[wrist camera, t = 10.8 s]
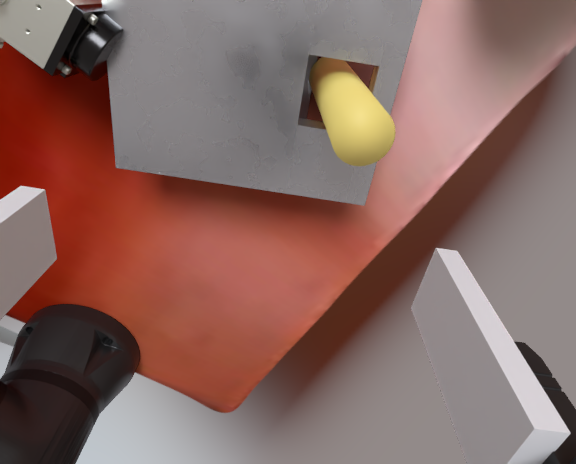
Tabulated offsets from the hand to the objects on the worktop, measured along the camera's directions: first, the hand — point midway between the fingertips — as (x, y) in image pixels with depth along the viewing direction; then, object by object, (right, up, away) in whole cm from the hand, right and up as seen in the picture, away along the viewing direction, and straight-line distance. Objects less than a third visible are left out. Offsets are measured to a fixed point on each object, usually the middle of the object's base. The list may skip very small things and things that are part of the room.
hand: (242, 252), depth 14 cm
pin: (+5, +14, +20) cm, 25 cm away
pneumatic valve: (-15, +20, +19) cm, 31 cm away
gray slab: (-1, +15, +21) cm, 26 cm away
